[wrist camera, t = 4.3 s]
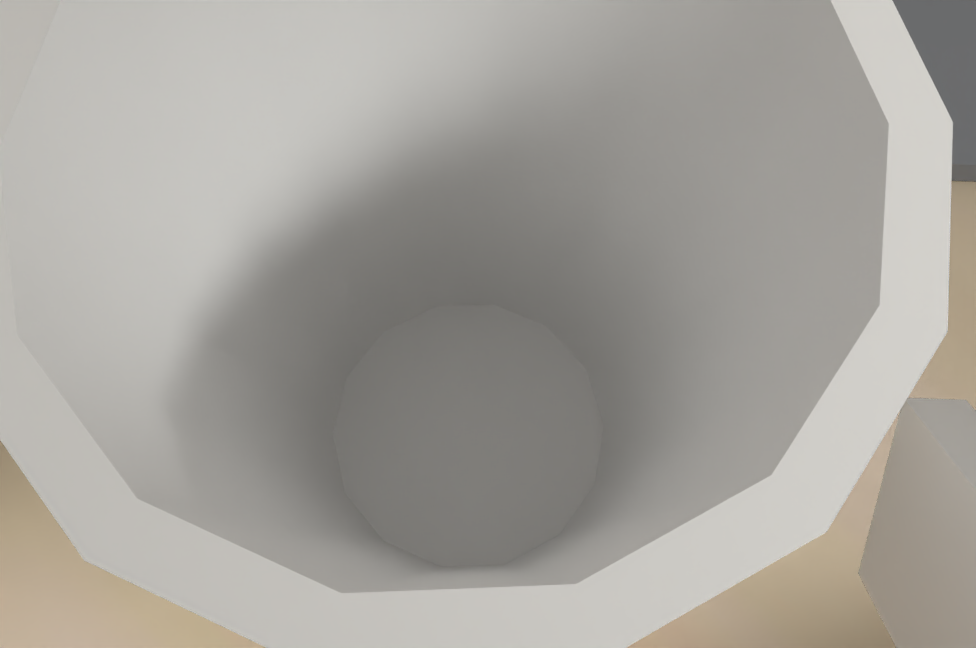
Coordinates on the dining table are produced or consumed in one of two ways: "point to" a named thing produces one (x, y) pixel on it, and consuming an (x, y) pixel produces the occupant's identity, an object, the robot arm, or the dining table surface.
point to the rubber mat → (949, 67)
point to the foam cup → (460, 299)
